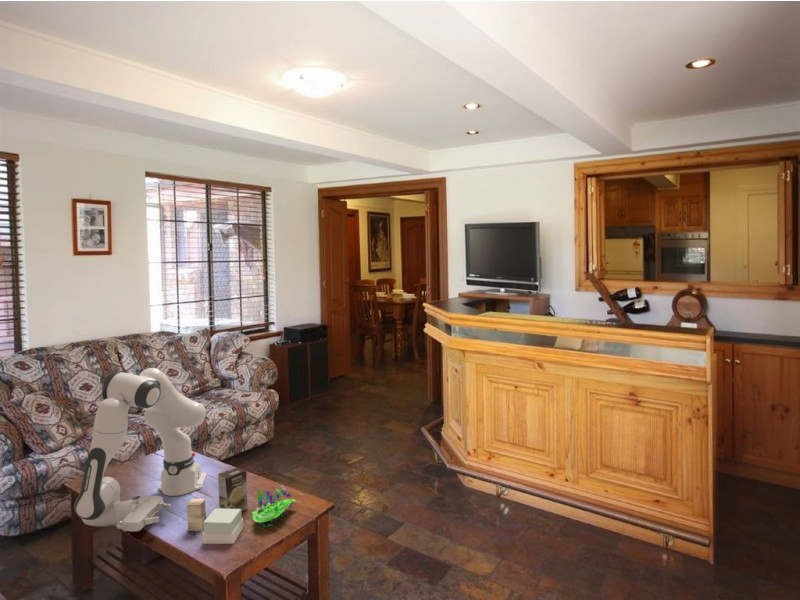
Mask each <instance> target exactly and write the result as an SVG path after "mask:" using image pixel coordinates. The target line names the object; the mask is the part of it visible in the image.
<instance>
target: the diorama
mask: <svg viewBox="0 0 800 600" xmlns="http://www.w3.org/2000/svg"><path fill="white" fill-rule="evenodd" d="M281 487H282V488H280V489H278V487H276V488H275V494H274V495H273V494H272V493H271V491H272V490H270V489H267V491H265V493H263V491H264V490H263V489H259V491H258V493H257V503H258V504H257V507H256V510H253V511H251V515H252V520H253V522H254V521H255V522H256V523H258V524H259V525H261V524H262V527H266V526H267V527H270V526H274V524H268V525H266V524H264V523H265V522H276V520H278V519H280V515H281V517H283V513H284V514H287V513H288V512H289V511H292V509H291V508H293V502H297V500H296V499H294V498H292V499H290V498H291V497H292V493H291V494H290V492H288V491H287V490H286V487H284V485H281ZM280 497H281V498H280ZM284 497H286V498H285V499H284ZM264 498H265V499H266V500H264ZM287 498H288V499H287ZM277 499H278V500H277ZM263 501H265V503H264V502H263Z"/></svg>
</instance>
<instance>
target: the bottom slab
mask: <svg viewBox="0 0 800 600" xmlns="http://www.w3.org/2000/svg"><path fill="white" fill-rule="evenodd" d="M243 529H244V517H242V519H241V521H240V522H239V524H238V525H237V526H236V528H235V529H234V531H233V532H232V533H231V534H229V533H204V531H203V533H201V534H202V535H201V536H202V544H207V545H208V544H209V545H210V544H213V545H215V544H216V545H217V544H219V545H220V544H223V545H224V544H228V545H229V544H231V545H232V544H234V543H235V542H236V541H237V539H238V537H239V535H240V534H241V532H242V530H243Z"/></svg>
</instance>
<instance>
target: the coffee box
mask: <svg viewBox="0 0 800 600" xmlns="http://www.w3.org/2000/svg"><path fill="white" fill-rule="evenodd" d="M217 475H218V476H217V480H218V483H217V484H218V505H219V508H220V509H241V513H242V512H244V511H247V510H248V509H249V506H248V505H249V504H248V502H249V501H248V483H247V482H248V481H247V470H245V469H243V468H241V467H238V466H237V467H234V468H231V469H229V470H228V469H227V470H226V471H223V472H220V473H218V474H217Z"/></svg>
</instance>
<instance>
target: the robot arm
mask: <svg viewBox="0 0 800 600" xmlns="http://www.w3.org/2000/svg"><path fill="white" fill-rule="evenodd" d="M101 392H102V393H101V396H102V399H103V400H102V401H101V402H100V403H99V405H98V407H97V410H96V414H95V417H94V421H93V423H94V424H93V431H92V438H91V442H90V443H91V444H90V448H89V451H88V456H87V458H86V462H85V467H84V472H83V478H82V482H81V488H80V491H79V494H78V496H77V497H76V499H75V500H74V502H73V503H74V504H73V509H74V512H75V513H76V515H77V516H78V517H79V518H80V519H81V520H82V522H83V524H85V525H88V526H91V527H110V526H114V527H116V529H118V530H120V529H121V531H125V532H140V531H141V530H142V529H143V528H144V527H145V526H147V525H151V524H155V523H156V524H158V522H159V521H161V519H160V518H161V517H160V516H159V515H156V514H157V513H158V512H159V511H160V510H162V509H164V511H169V510H170V509H171V508H172V505H171V503H166V502H164V497H163V496H160V495H146V496H145V495H144V496H143V495H140V494H139V495H136V496H134V497H132V498H130V499H127V500H121V494H122V487H121V483H120V482H119V480H117V479H116V478H115V477H112V476H106V475H105V472H106V469H107V467H108V465H109V463H111V460H112V459H113V458H114V457H115V455H116V454H117V453H119V451H120V450H121V449H122V447H123V445H124V444H125V441H126V438H127V434H128V428H129V426H128V425H129V409H130V408H131V406H133V407H138V408H140V409H145V410H144V415H143V416H144V418H143V419H144V420H145V423H146V424H147V425H148V426H149V427H151V428H152V429H153V430H154V431H155V432H156V434H158V436H159V439H160V440H161V443H162V448H163V457H164V458H163V463H162V464H163V469H162V470H161V471H160V473H161V474H160V485H159V486H158V488H157V489H158V490H159V491H160V492H162V494H164V495H165V496H168V497H169V496H170V497H173V496H174V497H176V496H183V495H186V494H189V493H192V492H195V491H198V490H201V489H202V488H203V486H204V484H205V481H206V479H207V477H208V475H207V474H208V473H207V472H205V471H202V466H201V464H200V463H198V462H196V461H195V457H196V452H195V451H192V439H191V438H190V436H189V435H188V434H186V433H184V432H183V431H182V430H181V429H180V428H192V427H193V428H194V427H197V426H201V425H202V424H203V423H204V421H205V418H206V416H207V414H206V413H207V412H206V408H205V406H204V404H202V403H201V402H197V401H194V400H193V399H190V398H189V397H186V396H185V395H184V394H182V393H180V392H179V391H178V390H177V389H176V387H175V386H174V384H172V381H170V378H168V376H167V375H166V374H165V373H163V371H162V370H160V369H158V368H156V367H148V368H145V369H144V370H142V371H141V372H140V373H139V375H137V374H134V373H130V372H129V373H127V372H125V371H123V370H115V371H111V372H109V373H108V374H107V376H106V377H105V378H104V379H103V382H102V387H101ZM104 475H105V476H104Z"/></svg>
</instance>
